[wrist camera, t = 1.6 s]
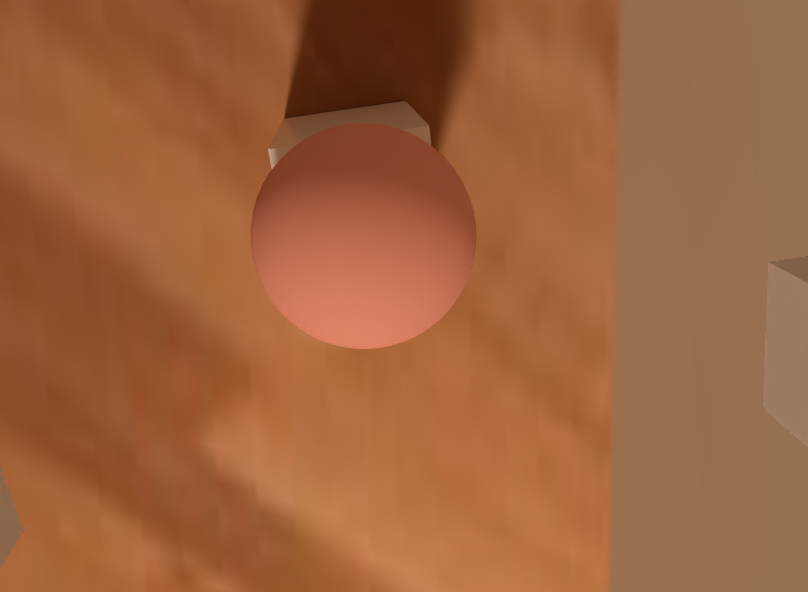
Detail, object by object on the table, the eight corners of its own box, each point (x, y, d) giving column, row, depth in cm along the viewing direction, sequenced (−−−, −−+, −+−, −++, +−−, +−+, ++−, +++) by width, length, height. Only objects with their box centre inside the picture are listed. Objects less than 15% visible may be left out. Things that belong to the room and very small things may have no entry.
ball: (242, 126, 23) (211, 162, 17) (446, 97, 23) (485, 121, 17) (281, 315, 25) (266, 405, 19) (466, 286, 26) (508, 367, 20)
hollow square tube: (283, 118, 30) (268, 149, 23) (405, 100, 30) (428, 125, 23) (305, 236, 32) (297, 300, 25) (420, 218, 32) (447, 276, 25)
